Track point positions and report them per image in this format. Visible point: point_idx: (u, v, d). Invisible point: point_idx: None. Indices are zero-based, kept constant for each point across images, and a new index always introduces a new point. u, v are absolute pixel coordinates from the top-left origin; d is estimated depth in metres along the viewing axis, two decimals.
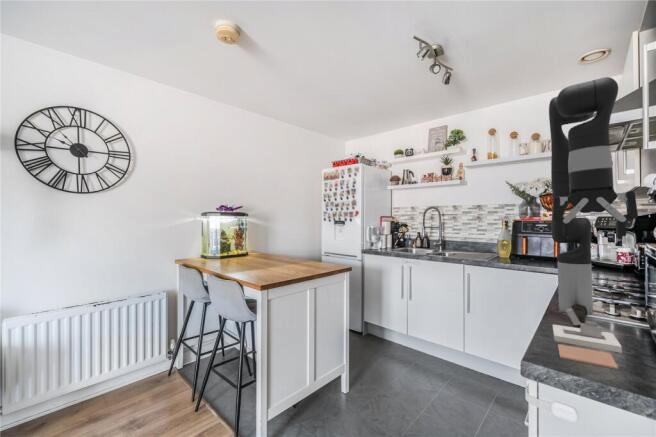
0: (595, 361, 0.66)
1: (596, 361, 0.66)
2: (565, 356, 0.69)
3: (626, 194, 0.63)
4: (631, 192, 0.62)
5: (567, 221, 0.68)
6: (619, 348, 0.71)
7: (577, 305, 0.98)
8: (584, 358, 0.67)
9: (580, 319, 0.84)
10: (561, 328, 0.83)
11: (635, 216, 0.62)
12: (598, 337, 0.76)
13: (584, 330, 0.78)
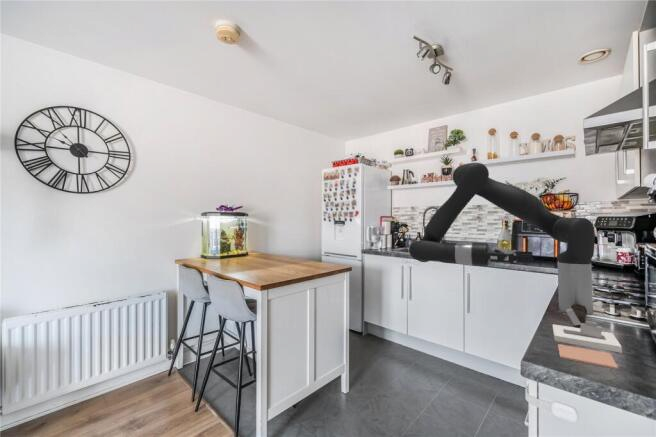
0: (595, 361, 0.66)
1: (596, 361, 0.66)
2: (565, 356, 0.69)
3: None
4: None
5: None
6: (619, 348, 0.71)
7: (577, 305, 0.98)
8: (584, 358, 0.67)
9: (581, 319, 0.84)
10: (561, 328, 0.83)
11: (511, 262, 0.82)
12: (598, 337, 0.76)
13: (584, 330, 0.78)
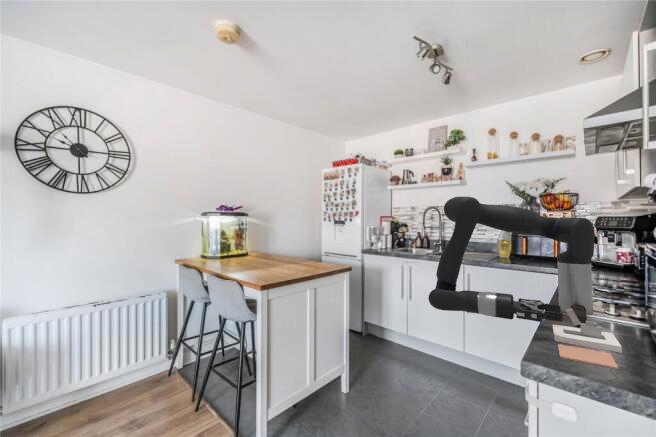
0: (595, 361, 0.66)
1: (596, 361, 0.66)
2: (565, 356, 0.69)
3: None
4: None
5: None
6: (619, 348, 0.71)
7: (576, 305, 0.98)
8: (584, 358, 0.67)
9: (584, 320, 0.84)
10: (561, 328, 0.83)
11: (540, 321, 0.79)
12: (598, 337, 0.76)
13: (584, 330, 0.78)
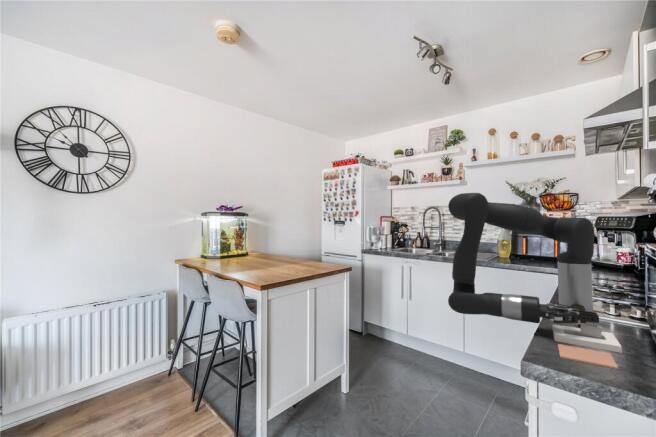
0: (595, 361, 0.66)
1: (596, 361, 0.66)
2: (565, 356, 0.69)
3: None
4: (555, 322, 0.77)
5: None
6: (619, 348, 0.71)
7: (576, 305, 0.98)
8: (584, 358, 0.67)
9: None
10: (561, 328, 0.83)
11: (575, 322, 0.77)
12: (598, 337, 0.76)
13: (584, 330, 0.78)
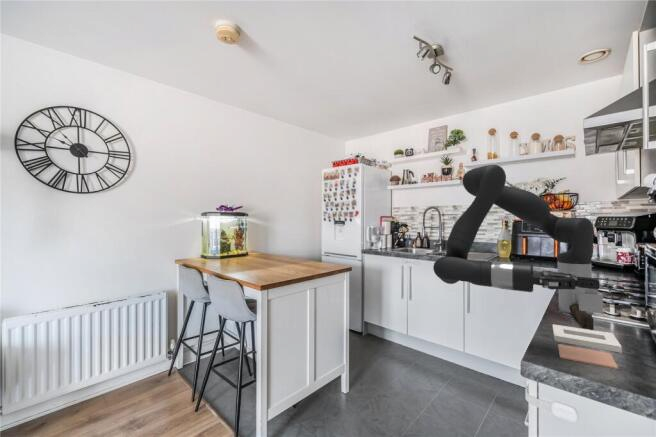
0: (595, 361, 0.66)
1: (596, 361, 0.66)
2: (565, 356, 0.69)
3: None
4: (550, 288, 0.69)
5: None
6: (619, 348, 0.71)
7: (575, 305, 0.98)
8: (584, 358, 0.67)
9: (591, 320, 0.83)
10: (561, 328, 0.83)
11: None
12: (599, 305, 0.67)
13: (584, 298, 0.69)
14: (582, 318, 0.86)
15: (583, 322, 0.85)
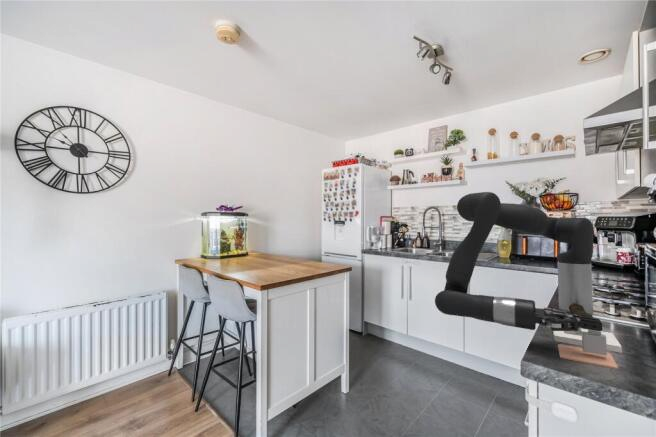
0: (595, 361, 0.66)
1: (596, 361, 0.66)
2: (565, 356, 0.69)
3: None
4: (553, 330, 0.68)
5: None
6: (619, 348, 0.71)
7: (575, 305, 0.98)
8: (584, 358, 0.67)
9: None
10: None
11: (575, 330, 0.68)
12: (603, 347, 0.67)
13: (587, 340, 0.69)
14: None
15: None
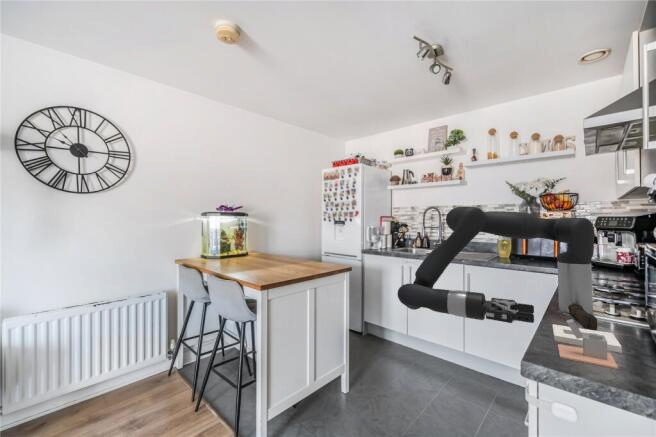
0: (595, 361, 0.66)
1: (596, 361, 0.66)
2: (565, 356, 0.69)
3: None
4: None
5: (515, 311, 0.81)
6: (619, 348, 0.71)
7: (574, 305, 0.98)
8: (584, 358, 0.67)
9: (595, 321, 0.83)
10: (561, 328, 0.83)
11: (510, 322, 0.72)
12: (604, 352, 0.67)
13: (588, 344, 0.68)
14: (585, 318, 0.86)
15: (586, 322, 0.85)
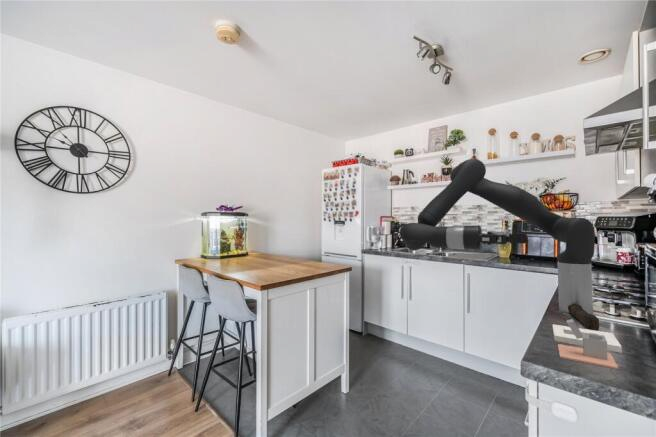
0: (595, 361, 0.66)
1: (596, 361, 0.66)
2: (565, 356, 0.69)
3: None
4: (483, 243, 0.82)
5: None
6: (619, 348, 0.71)
7: (574, 305, 0.98)
8: (584, 358, 0.67)
9: (597, 321, 0.82)
10: (561, 328, 0.83)
11: None
12: (604, 352, 0.67)
13: (588, 344, 0.68)
14: (587, 319, 0.86)
15: (588, 323, 0.85)
